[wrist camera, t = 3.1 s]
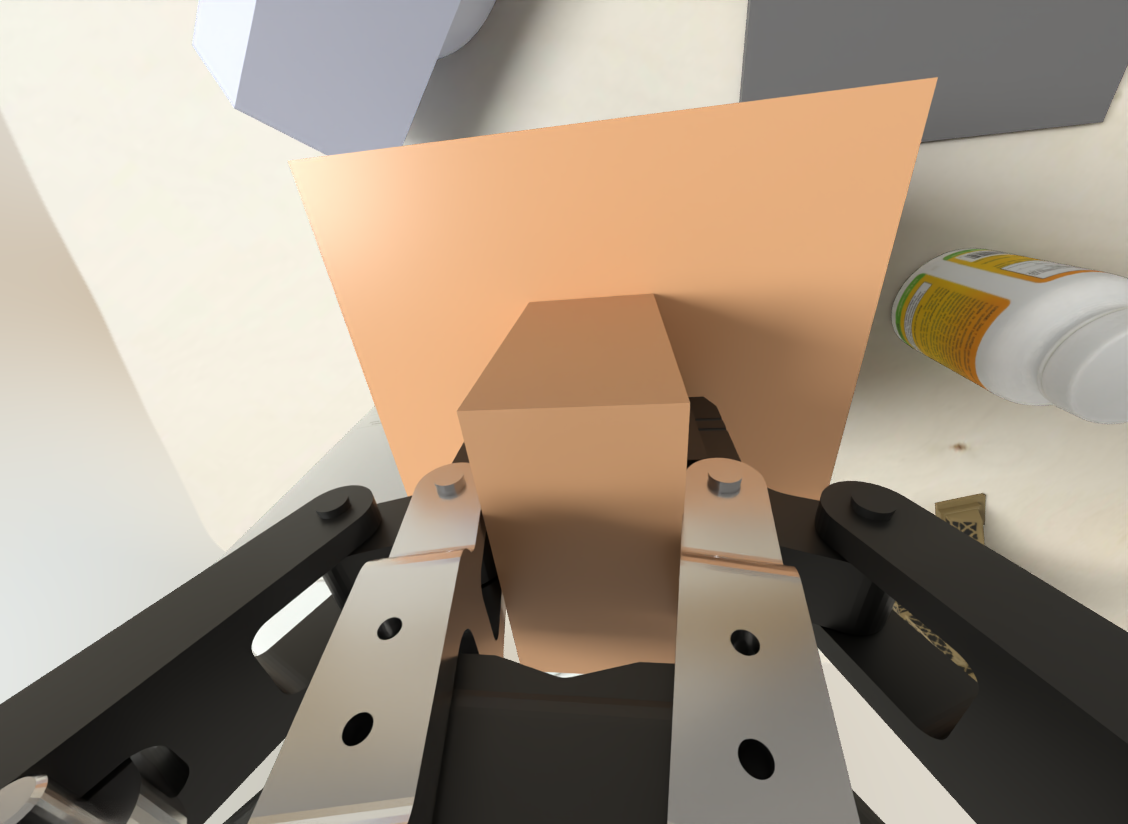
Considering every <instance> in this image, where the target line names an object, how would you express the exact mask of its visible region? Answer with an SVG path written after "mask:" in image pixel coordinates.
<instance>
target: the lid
mask: <svg viewBox="0 0 1128 824" xmlns="http://www.w3.org/2000/svg"><path fill="white" fill-rule="evenodd" d="M937 79H938V77H935V78H927V79H919V80H912V81H904V82H896V83H888V84H880V85H873V86H865V87H857V88H849V89H842V90H834V91H826V92H818V93H811V94H803V95H795V96H787V97H779V98H772V99H764V100H756V101H748V102H741V103H733V104H725V105H717V106H709V107H702V108H694V109H686V110H678V111H671V112H663V113H655V114H647V115H639V116H632V117H624V118H616V119H608V120H601V121H593V122H585V123H577V124H569V125H562V126H554V127H546V128H538V129H531V130H523V131H515V132H507V133H499V134H492V135H484V136H476V137H468V138H461V139H453V140H445V141H437V142H430V143H422V144H414V145H406V146H398V147H391V148H383V149H375V150H367V151H360V152H352V153H344V154H336V155H328V156H321V157H313V158H305V159H297V160H290V161H288V163H289V166H290V169H291V171H292V174H293V177H294V180H295V183H296V185H297V188H298V191H299V194H300V197H301V199H302V202H303V205H304V208H305V211H306V213H307V216H308V219H309V222H310V225H311V227H312V230H313V233H314V236H315V239H316V241H317V244H318V247H319V250H320V253H321V255H322V258H323V261H324V264H325V267H326V269H327V272H328V275H329V278H330V281H331V283H332V286H333V289H334V292H335V295H336V297H337V300H338V303H339V306H340V309H341V311H342V314H343V317H344V320H345V323H346V325H347V328H348V331H349V334H350V337H351V339H352V342H353V345H354V348H355V351H356V353H357V356H358V359H359V362H360V365H361V367H362V370H363V373H364V376H365V379H366V381H367V384H368V387H369V390H370V393H371V395H372V398H373V401H374V404H375V407H376V409H377V412H378V415H379V418H380V421H381V423H382V426H383V429H384V432H385V435H386V437H387V440H388V443H389V446H390V449H391V451H392V454H393V457H394V460H395V463H396V465H397V468H398V471H399V474H400V477H401V479H402V482H403V485H404V488H405V491H406V493H407V496H412V495H413V493H414V490H415V487H416V486H417V484H418V482H419V481H420V480H421V479H422V478H423V477H424V476H425V475H426V474H428V473H429V472H431V471H433V470H434V469H437V468H439V467H441V466H444V465H448V464H452V462H453V460H454V458H455V457H456V455H457V453H458V451H459V449H460V448H461V446H462V444H463V442H464V443H465V447H466V451H467V455H468V459H469V463H470V466H471V470H472V474H473V478H474V482H475V486H476V490H477V494H478V498H479V502H480V506H481V510H482V514H483V518H484V522H485V526H486V530H487V534H488V538H489V542H490V546H491V550H492V554H493V558H494V562H495V566H496V570H497V574H498V578H499V581H500V585H501V589H502V593H503V597H504V601H505V605H506V609H507V613H508V617H509V621H510V625H511V629H512V633H513V637H514V641H515V645H516V649H517V652H518V657H519V661H520V664H523V665H525V666H528V667H531V668H534V669H537V670H540V671H543V672H556V673H575V674H587V673H592V672H596V671H601V670H605V669H610V668H614V667H619V666H623V665H628V664H632V663H637V662H653V663H674V664H675V647H676V627H677V608H678V593H679V574H680V554H681V534H682V516H683V514H684V505H685V487H686V470H687V452H688V434H689V416H690V401H689V398H688V397H703V396H704V397H705V398H706V399H708V400H709V401H710V402H712V403H713V404H714V405H716V406H717V408H718V410H719V413H720V415H721V417H722V420H723V422H724V424H725V426H726V430H727V431H728V433H729V435H730V437H731V439H732V442H733V444H734V446H735V448H736V451H737V453H738V455H739V457H740V460H741V462H743V463H745V464H747V465H749V466H751V467H753V468H754V469H755V470H757V471H758V472H759V473H760V474H761V475H762V476H763V478H764V479H765V482H766V485H767V488H770V489H772V490H775V491H778V492H781V493H784V494H789V495H793V496H798V497H804V498H809V499H814V500H819V501H820V497H821V494H822V491H823V490H824V489H825V488H826V487H827V486H829V484H830V480H831V476H832V473H833V469H834V465H835V461H836V458H837V454H838V450H839V446H840V443H841V439H842V435H843V431H844V428H845V424H846V420H847V416H848V413H849V409H850V405H851V402H852V398H853V394H854V390H855V387H856V383H857V379H858V375H859V372H860V368H861V364H862V360H863V357H864V353H865V349H866V345H867V342H868V338H869V334H870V330H871V327H872V323H873V319H874V315H875V312H876V308H877V304H878V300H879V297H880V293H881V289H882V285H883V282H884V278H885V274H886V270H887V267H888V263H889V259H890V255H891V252H892V248H893V244H894V240H895V237H896V233H897V229H898V225H899V222H900V218H901V214H902V210H903V207H904V203H905V199H906V195H907V192H908V188H909V184H910V180H911V177H912V173H913V169H914V165H915V162H916V158H917V154H918V150H919V147H920V143H921V139H922V135H923V132H924V128H925V124H926V120H927V117H928V113H929V109H930V105H931V102H932V98H933V94H934V90H935V87H936V83H937Z"/></svg>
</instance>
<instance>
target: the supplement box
mask: <svg viewBox="0 0 1128 824" xmlns="http://www.w3.org/2000/svg"><path fill="white" fill-rule="evenodd" d="M349 485H360V486H364V487H367V488H369V489H370V490H371V491H372V494H373V496H374V498H375V501H376V503H377V504H378V503H382V502H386V501H391V500H395V499H400V498H404V497H408V496H407V493H406V491H405V488H404V485H403V482H402V479H401V477H400V474H399V471H398V468H397V465H396V463H395V460H394V457H393V454H392V451H391V449H390V446H389V443H388V440H387V437H386V435H385V432H384V429H383V426H382V423H381V421H380V418H379V415H378V412H377V409H376V407H375V406H374V407H373V408H372V409H371V410H370V411H369V412H368V413H367V414H366V415H365V416H364V417H363V418H362V419H361V420H360V421H359V422H358V423H357V424H356V425H355V426H354V427H353V428H352V429H351V430H350V431H349V432H348V433H347V434H346V435H345V436H344V437H343V438H342V439H341V440H340V441H339V442H338V443H337V444H336V445H335V446H334V447H333V448H332V449H331V450H329V451H328V452H327V453H326V454H325V455H324V456H323V457H322V458H321V459H320V460H319V461H318V462H317V463H316V464H315V465H314V466H313V467H312V468H311V469H310V470H309V471H308V472H307V473H306V474H305V475H304V476H303V477H302V478H301V479H300V480H299V481H298V482H297V483H296V484H295V485H294V486H293V487H292V488H291V489H290V490H289V491H288V492H287V493H286V494H285V495H284V496H283V497H282V498H281V499H280V500H279V501H278V502H277V503H276V504H275V505H274V506H273V507H272V508H271V509H269V510H268V511H267V512H266V513H265V514H264V515H263V516H262V517H261V518H260V519H259V520H258V521H257V522H256V523H255V524H254V525H253V526H252V527H251V528H250V529H249V530H248V531H247V532H246V533H245V534H244V535H243V536H242V537H241V538H240V539H239V540H238V541H237V542H236V543H235V544H234V545H233V546H232V547H231V548H230V549H229V550H228V551H227V552H226V553H224V554H223V556H222V557H220V558H219V559H218V560H217V561H216V562H215V563H217V562H218V561H220V560H221V559H223V558H224V557H226V556H227V555H229V554H230V553H232V552H233V551H235V550H236V549H238V548H239V547H241V546H242V545H244V544H245V543H247V542H249V541H250V540H252V539H253V538H255V537H256V536H258V535H259V534H261V533H262V532H264V531H265V530H267V529H268V528H270V527H271V526H273V525H274V524H276V523H277V522H279V521H280V520H282V519H284V518H285V517H287V516H288V515H290V514H291V513H293V512H294V511H296V510H297V509H299V508H300V507H302V506H303V505H305V504H306V503H308V502H309V501H311V500H312V499H314V498H316V497H317V496H319V495H321V494H323V493H325V492H327V491H330V490H332V489H335V488H339V487H343V486H349ZM215 563H214V564H215ZM330 595H332V594H331V592H330V590H329V588H328V586H327V585H326V583H325V581H324V579H323V577H321V578H320V579H318V580H317V581H316V582H315V583H313V584H312V585H311V586H310V587H309V588H307V589H306V590H305V591H304V592H302V593H301V594H300V595H299V596H298V597H296V598H295V599H294V600H293V601H291V602H290V603H289V604H288V605H286V606H285V607H284V608H283V609H282V610H280V611H279V612H278V613H277V614H275V615H274V616H273V617H272V618H271V619H269V620H268V621H267V622H266V623H265V624H264V625H263V626H262V627H261V628H260V629H259V631H258V632H257V634H256V635H255V637H254V640H253V643H252V650H253V651H254V652H255V653H256V655H257V656H258V655H260V654H262V653H264V652H265V651H267V650H268V649H269V648H270V647H272V646H273V645H274V644H275V643H276V642H277V641H279V640H280V639H281V638H282V637H283V636H284V635H285V634H287V633H288V632H289V631H290V630H291V629H292V628H294V627H295V626H296V625H297V624H298V623H299V622H300V621H302V620H303V619H304V618H305V617H306V616H307V615H309V614H310V613H311V612H312V611H313V610H314V609H315V608H317V607H318V606H319V605H320V604H321V603H322V602H324V601H325V600H326V599H327V598H328V597H329V596H330Z"/></svg>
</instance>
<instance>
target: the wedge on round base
mask: <svg viewBox="0 0 1128 824" xmlns="http://www.w3.org/2000/svg"><path fill="white" fill-rule="evenodd" d="M495 1H496V0H199V3H198V9H197V16H196V23H195V29H194V36H193V43H192V46H193V47H194V49H195V50H196V52H197V53H198V55H199V56H200V58H201V59H202V61H203V62H204V64H205V65H206V67H207V68H208V70H209V71H210V73H211V74H212V76H213V77H214V79H215V80H216V82H217V83H218V85H219V86H220V88H221V89H222V91H223V92H224V94H225V95H226V97H227V98H228V100H229V101H230V103H231V104H232V106H233V107H234V108H235V109H237V110H239V111H241V112H243V113H245V114H247V115H249V116H251V117H253V118H255V119H257V120H259V121H260V122H262V123H264V124H266V125H268V126H270V127H272V128H274V129H276V130H278V131H280V132H282V133H284V134H286V135H288V136H290V137H292V138H294V139H296V140H298V141H300V142H302V143H304V144H306V145H308V146H310V147H312V148H314V149H316V150H318V151H320V152H322V153H324V154H326V155H336V154H344V153H352V152H360V151H367V150H375V149H383V148H391V147H398V146H403V143H404V141H405V138H406V136H407V133H408V131H409V128H410V126H411V123H412V121H413V118H414V116H415V113H416V111H417V108H418V106H419V103H420V101H421V98H422V96H423V93H424V91H425V88H426V86H427V83H428V81H429V78H430V76H431V74H432V71H433V69H434V66H435V64H436V61H437V59H440V58H443V57H446V56H448V55H450V54H452V53H453V52H455V51H457V50H459V49H460V48H461V47H462V46H464V45H465V44H466V43H467V42H469V41H470V39H471V38H472V37H473V36H474V35H475V34H476V33H477V32H478V31H479V29H480V28H481V26H482V25H483V24H484V22H485V21H486V19H487V17H488V15H489V14H490V12H491V10H492V8H493V6H494V4H495Z"/></svg>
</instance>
